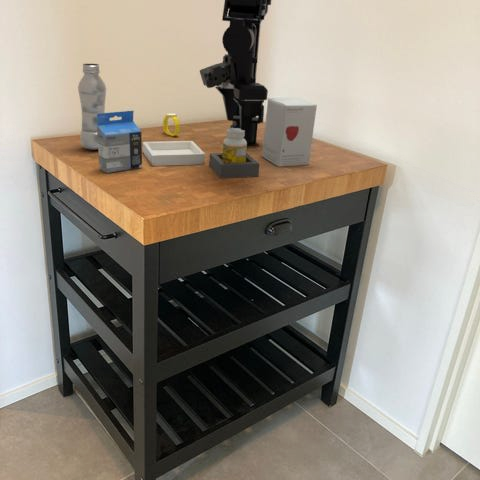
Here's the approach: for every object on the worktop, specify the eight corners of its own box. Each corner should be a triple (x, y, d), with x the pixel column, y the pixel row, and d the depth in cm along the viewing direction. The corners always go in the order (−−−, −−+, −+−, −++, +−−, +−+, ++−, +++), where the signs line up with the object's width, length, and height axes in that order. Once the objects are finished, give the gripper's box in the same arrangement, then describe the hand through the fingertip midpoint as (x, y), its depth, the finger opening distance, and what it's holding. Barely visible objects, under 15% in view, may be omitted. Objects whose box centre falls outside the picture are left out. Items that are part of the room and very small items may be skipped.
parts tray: (192, 150, 134) (192, 140, 133) (204, 164, 124) (205, 153, 123) (142, 151, 130) (142, 141, 129) (152, 166, 120) (152, 155, 119)
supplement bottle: (249, 172, 121) (252, 131, 117) (230, 175, 118) (233, 133, 114) (235, 166, 125) (238, 126, 121) (217, 169, 122) (219, 128, 118)
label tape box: (106, 174, 113) (104, 117, 108) (98, 168, 116) (95, 113, 111) (142, 168, 118) (142, 113, 113) (133, 163, 121) (133, 110, 116)
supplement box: (278, 167, 126) (284, 104, 120) (261, 156, 133) (266, 97, 127) (310, 165, 130) (318, 104, 123) (291, 154, 137) (298, 96, 131)
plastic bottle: (75, 150, 127) (69, 64, 119) (91, 143, 133) (87, 61, 124) (98, 154, 125) (94, 67, 117) (113, 147, 131) (111, 64, 123)
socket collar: (244, 164, 126) (245, 152, 125) (258, 176, 119) (259, 163, 118) (209, 165, 123) (209, 153, 122) (220, 178, 116) (221, 165, 115)
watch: (161, 134, 148) (160, 113, 145) (169, 133, 149) (168, 112, 147) (174, 137, 144) (173, 115, 141) (182, 136, 145) (181, 114, 143)
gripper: (192, 44, 115) (190, 115, 122) (218, 55, 99) (214, 136, 106) (240, 46, 119) (235, 115, 126) (271, 57, 103) (264, 135, 110)
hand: (236, 124), depth 117 cm, fingers open, 9 cm apart
